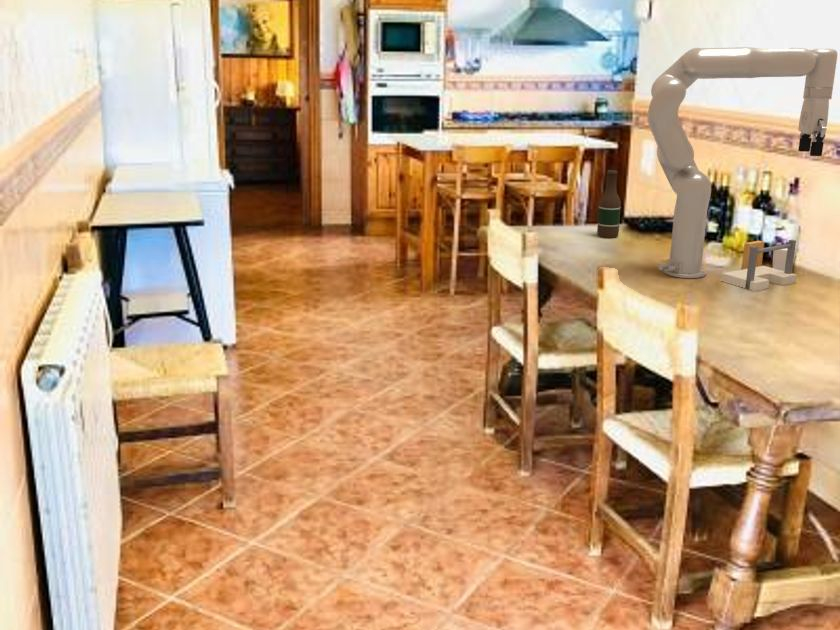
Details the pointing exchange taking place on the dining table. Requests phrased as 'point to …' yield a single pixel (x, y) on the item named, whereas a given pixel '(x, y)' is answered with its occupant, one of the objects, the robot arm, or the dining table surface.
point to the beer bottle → (609, 209)
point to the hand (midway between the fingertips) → (809, 153)
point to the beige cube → (780, 258)
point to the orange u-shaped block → (747, 250)
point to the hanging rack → (763, 270)
